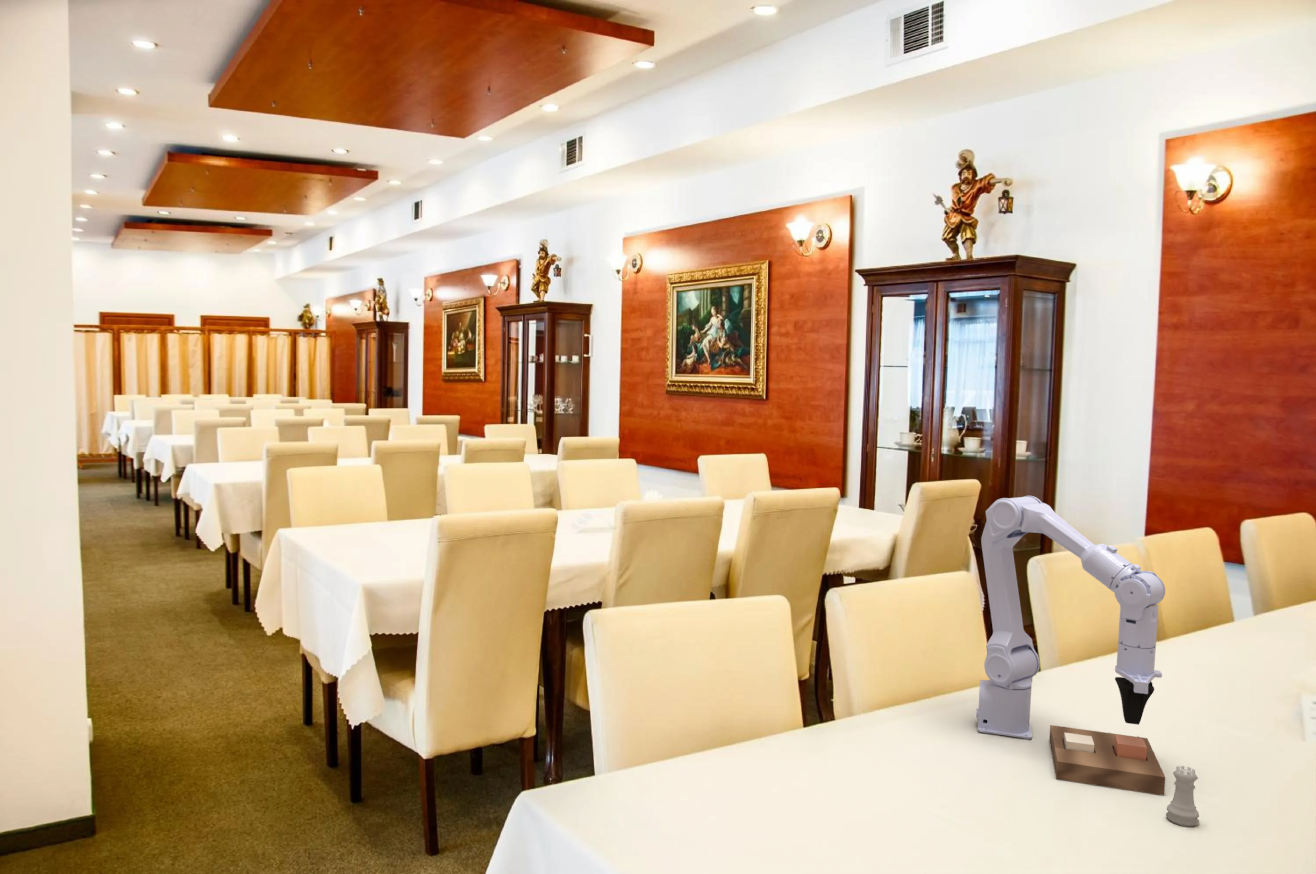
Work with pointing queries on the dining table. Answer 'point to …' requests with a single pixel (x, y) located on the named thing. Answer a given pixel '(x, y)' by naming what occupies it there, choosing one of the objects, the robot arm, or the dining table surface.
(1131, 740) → the terracotta key
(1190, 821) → the rook chess piece
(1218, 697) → the dining table surface
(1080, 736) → the ivory key
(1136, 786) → the key panel
